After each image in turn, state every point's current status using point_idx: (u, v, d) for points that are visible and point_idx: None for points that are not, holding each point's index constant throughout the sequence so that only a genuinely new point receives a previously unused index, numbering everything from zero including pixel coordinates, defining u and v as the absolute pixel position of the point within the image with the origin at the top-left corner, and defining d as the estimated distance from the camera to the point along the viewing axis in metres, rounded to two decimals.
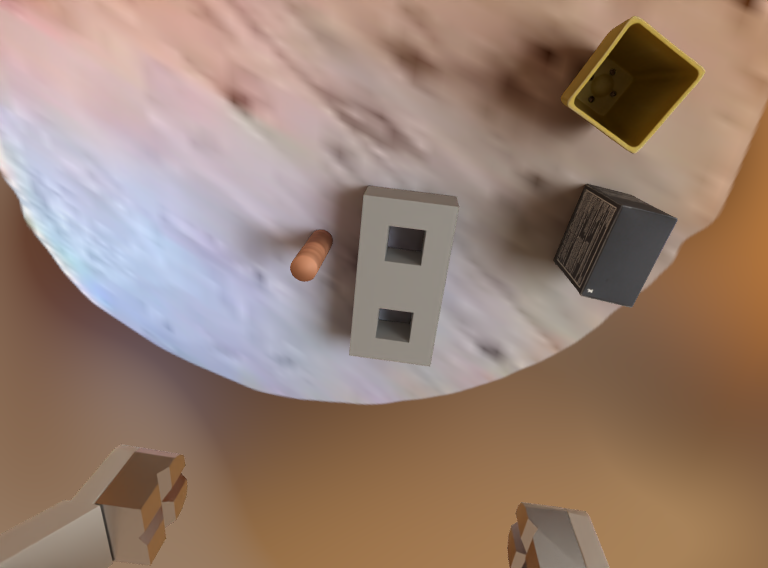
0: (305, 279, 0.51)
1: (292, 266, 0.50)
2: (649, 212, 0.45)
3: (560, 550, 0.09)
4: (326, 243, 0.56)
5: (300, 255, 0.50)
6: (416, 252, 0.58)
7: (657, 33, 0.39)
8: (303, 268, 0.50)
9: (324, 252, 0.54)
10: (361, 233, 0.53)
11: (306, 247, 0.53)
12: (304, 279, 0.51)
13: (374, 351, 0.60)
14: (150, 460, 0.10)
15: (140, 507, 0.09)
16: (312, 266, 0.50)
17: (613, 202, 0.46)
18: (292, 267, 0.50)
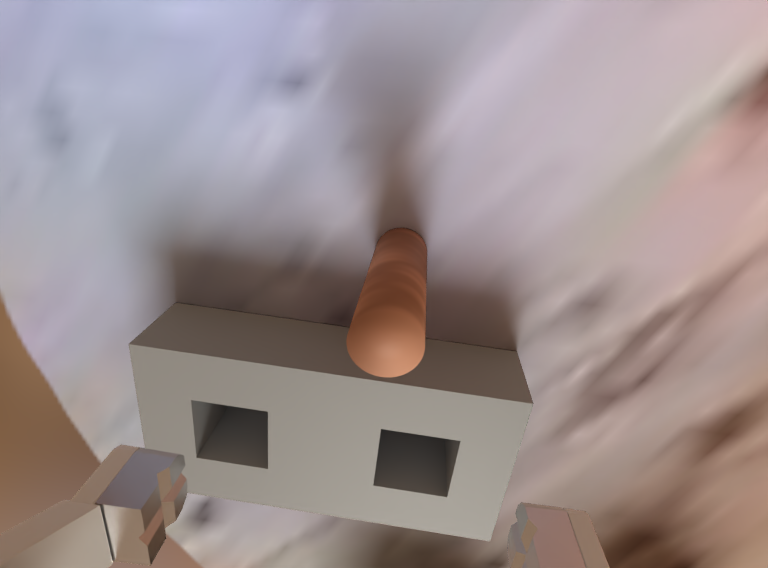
0: (352, 346, 0.17)
1: (393, 316, 0.17)
2: None
3: (560, 550, 0.09)
4: None
5: (424, 332, 0.17)
6: None
7: None
8: (387, 345, 0.17)
9: None
10: (445, 393, 0.24)
11: (425, 302, 0.20)
12: (352, 343, 0.17)
13: (155, 395, 0.26)
14: (150, 460, 0.10)
15: (140, 507, 0.09)
16: (396, 369, 0.17)
17: None
18: (390, 316, 0.17)
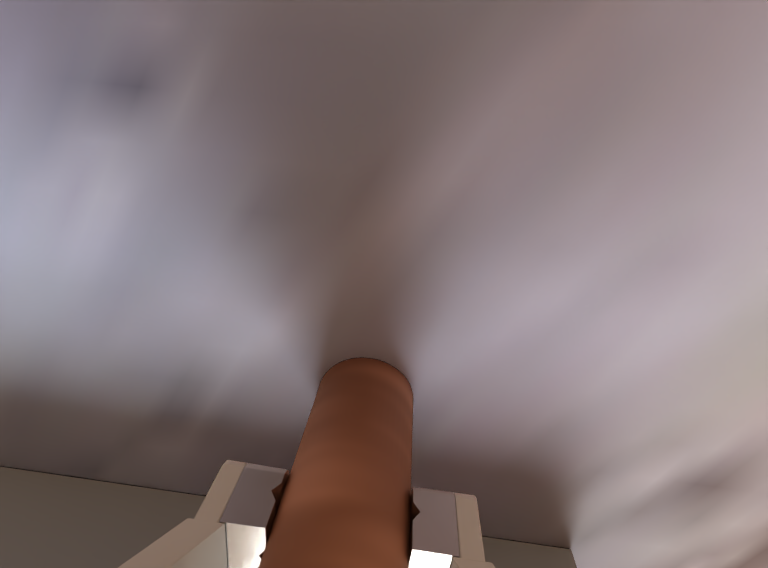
0: None
1: None
2: None
3: (437, 532, 0.09)
4: None
5: None
6: None
7: None
8: None
9: None
10: None
11: None
12: None
13: None
14: (259, 476, 0.10)
15: (264, 525, 0.09)
16: None
17: None
18: None
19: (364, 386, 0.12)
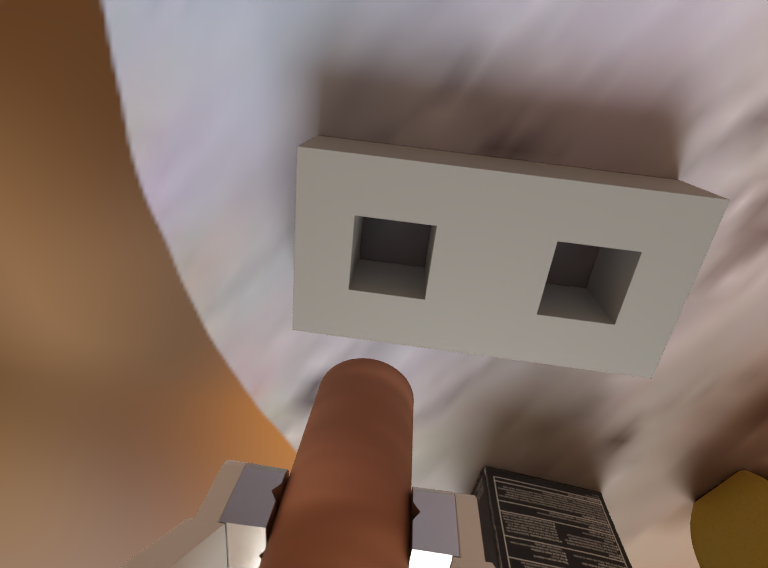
0: None
1: None
2: None
3: (437, 533, 0.09)
4: None
5: None
6: None
7: None
8: None
9: None
10: (635, 191, 0.23)
11: None
12: None
13: (316, 212, 0.24)
14: (260, 476, 0.10)
15: (264, 525, 0.09)
16: None
17: None
18: None
19: (364, 387, 0.12)
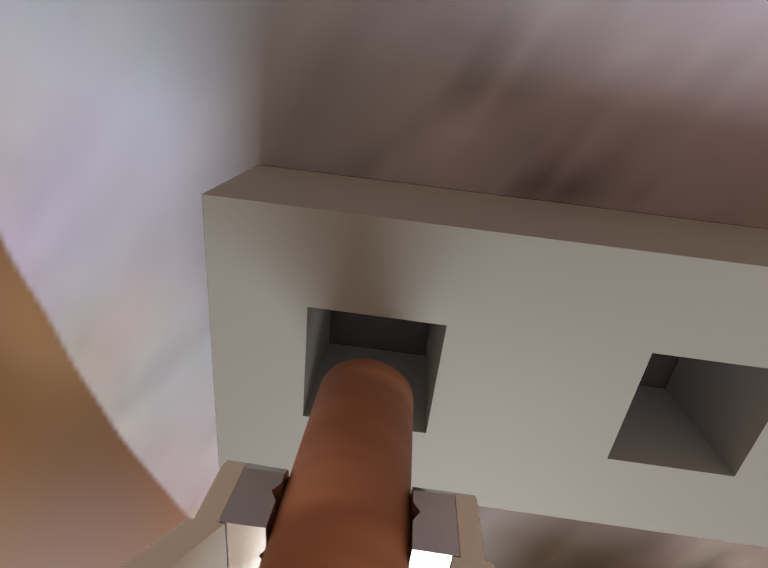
0: None
1: None
2: None
3: (437, 533, 0.09)
4: None
5: None
6: None
7: None
8: None
9: None
10: None
11: None
12: None
13: (243, 300, 0.14)
14: (260, 476, 0.10)
15: (264, 525, 0.09)
16: None
17: None
18: None
19: (364, 387, 0.12)
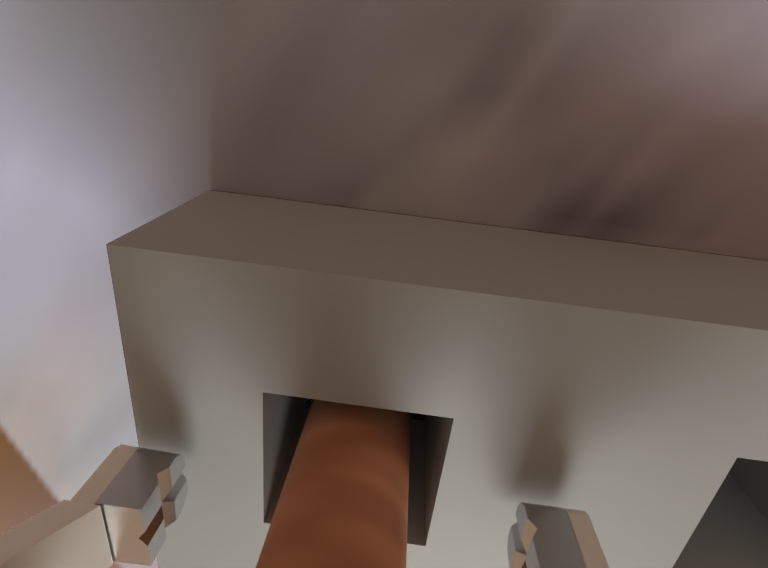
0: None
1: None
2: None
3: (560, 550, 0.09)
4: None
5: None
6: None
7: None
8: None
9: None
10: None
11: (405, 538, 0.09)
12: None
13: (175, 383, 0.11)
14: (150, 461, 0.10)
15: (140, 507, 0.09)
16: None
17: None
18: None
19: None
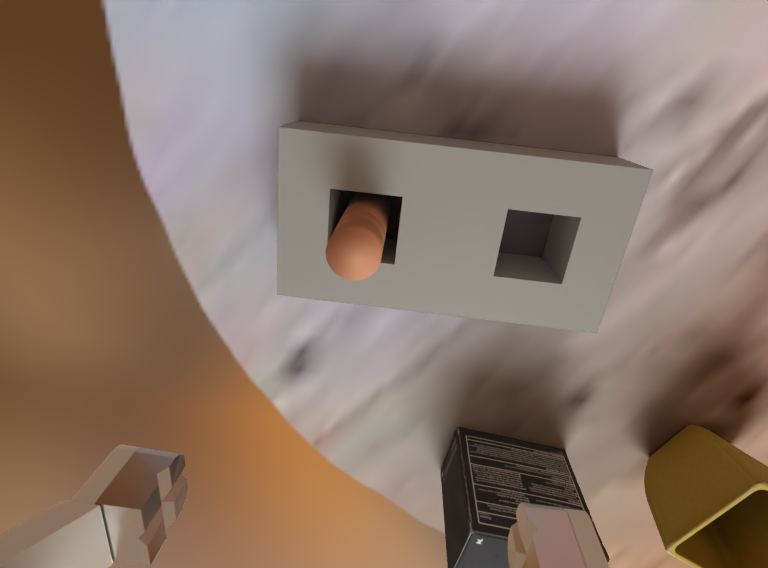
0: (330, 256, 0.24)
1: (358, 232, 0.23)
2: None
3: (560, 550, 0.09)
4: None
5: (381, 245, 0.24)
6: None
7: None
8: (355, 255, 0.24)
9: None
10: (572, 163, 0.26)
11: (384, 232, 0.27)
12: (330, 254, 0.24)
13: (296, 186, 0.28)
14: (150, 460, 0.10)
15: (140, 507, 0.09)
16: (361, 273, 0.24)
17: (597, 533, 0.34)
18: (355, 232, 0.23)
19: None
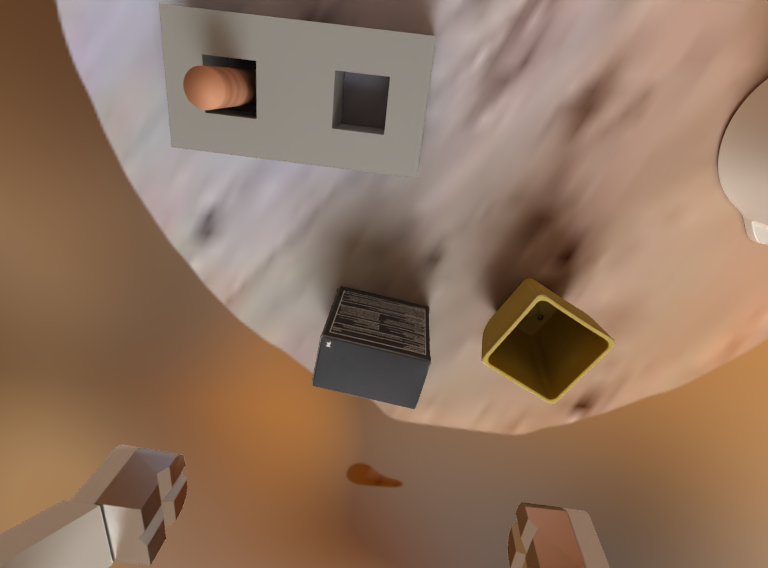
0: (187, 90, 0.33)
1: (204, 69, 0.32)
2: (422, 385, 0.42)
3: (560, 550, 0.09)
4: (247, 103, 0.40)
5: (224, 83, 0.33)
6: (340, 116, 0.42)
7: (595, 363, 0.41)
8: (204, 88, 0.33)
9: None
10: (376, 31, 0.35)
11: (237, 83, 0.36)
12: (186, 88, 0.33)
13: (176, 52, 0.37)
14: (150, 460, 0.10)
15: (140, 507, 0.09)
16: (210, 104, 0.33)
17: (428, 348, 0.43)
18: (202, 69, 0.32)
19: None
